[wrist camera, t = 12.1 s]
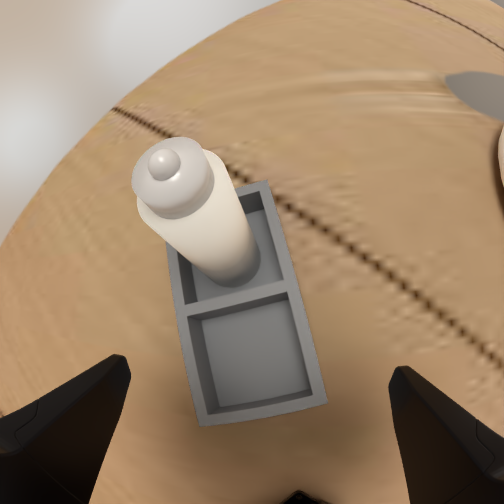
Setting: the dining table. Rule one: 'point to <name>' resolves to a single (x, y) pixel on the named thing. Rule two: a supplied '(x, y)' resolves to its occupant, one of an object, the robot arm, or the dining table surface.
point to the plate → (501, 154)
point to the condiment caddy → (247, 329)
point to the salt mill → (196, 210)
